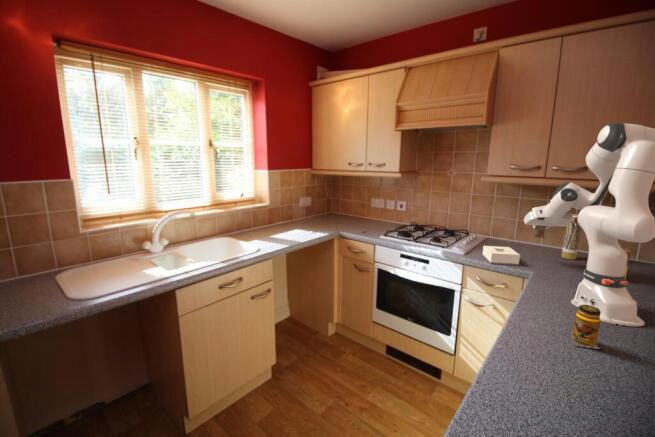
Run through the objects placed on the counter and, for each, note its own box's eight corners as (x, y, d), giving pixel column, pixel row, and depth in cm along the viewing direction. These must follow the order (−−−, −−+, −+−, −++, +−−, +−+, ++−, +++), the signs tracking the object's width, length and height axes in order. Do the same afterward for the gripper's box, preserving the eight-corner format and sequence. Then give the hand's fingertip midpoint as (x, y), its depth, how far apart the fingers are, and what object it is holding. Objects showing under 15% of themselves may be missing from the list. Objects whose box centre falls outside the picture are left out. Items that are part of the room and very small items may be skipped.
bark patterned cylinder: (570, 256, 185) (578, 214, 180) (578, 260, 178) (586, 216, 173) (558, 255, 185) (565, 214, 180) (565, 259, 179) (573, 216, 174)
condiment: (575, 347, 98) (582, 311, 96) (563, 332, 106) (569, 299, 104) (603, 351, 96) (611, 315, 94) (589, 335, 104) (595, 302, 102)
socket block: (518, 265, 169) (520, 254, 167) (490, 263, 171) (491, 253, 169) (508, 257, 182) (509, 247, 181) (482, 255, 184) (483, 245, 183)
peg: (544, 238, 169) (547, 221, 167) (536, 237, 170) (539, 221, 168) (541, 236, 173) (543, 220, 171) (533, 235, 174) (535, 219, 172)
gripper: (573, 209, 160) (559, 223, 171) (529, 207, 163) (518, 221, 174) (577, 219, 156) (562, 233, 168) (532, 217, 159) (521, 231, 171)
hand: (539, 227), depth 171 cm, fingers closed on peg, 4 cm apart
